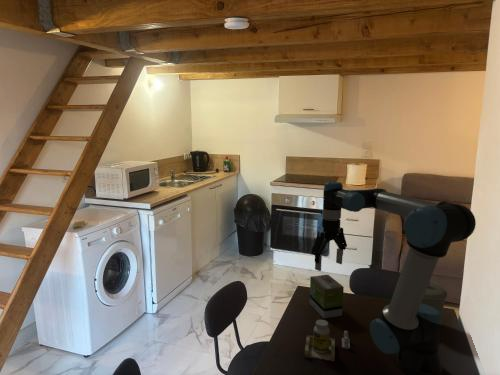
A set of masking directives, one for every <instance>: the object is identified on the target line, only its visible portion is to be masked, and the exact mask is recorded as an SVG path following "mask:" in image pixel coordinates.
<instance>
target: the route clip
mask: <svg viewBox="0 0 500 375" xmlns="http://www.w3.org/2000/svg"><path fill="white" fill-rule="evenodd" d="M350 344H351V341H350V338H349V331H348V330H344V331H343V337H342V338H341V348H342V349H348V350H350V349H351V345H350Z"/></svg>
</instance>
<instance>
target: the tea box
mask: <svg viewBox="0 0 500 375" xmlns="http://www.w3.org/2000/svg"><path fill="white" fill-rule="evenodd" d="M309 283H310V285H309V305H311V307H312V308H313V309H314V311H316V312H317V313H318V314H319V316H321V317H322V318H323V319H331V318H336V317H341V316H343V305H344V301H343V300H344V288H345V287H344V286H343V285H342V284H341V283H339V281H337V280H335V278H333V276H331V275H330V274H321V275H320V274H319V275H314V276H313V275H312V276H310V282H309Z"/></svg>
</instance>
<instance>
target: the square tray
mask: <svg viewBox="0 0 500 375" xmlns="http://www.w3.org/2000/svg"><path fill="white" fill-rule="evenodd" d="M335 342H336V339H335V338H331V337H329V350H328V351H327V352H325V353H319V352H316V351H315V350H314V349H313V335H308V334H307V335H306V339H305V346H304V358H310V359H315V358H316V359H315V360H322V359H324V360H323V361H329V360H330V361H331V362H335V359H336V358H335V357H336V356H335V355H336V352H335V351H336V350H335V349H336V348H335V346H336V344H335ZM317 358H318V359H317Z"/></svg>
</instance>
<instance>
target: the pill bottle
mask: <svg viewBox="0 0 500 375" xmlns="http://www.w3.org/2000/svg"><path fill="white" fill-rule="evenodd" d="M330 332H331V331H330V328H329V322H328V321H327V320H324V319H317V320H316V321H315V326H314V327H313V332H312V333H313V335H312V336H313V349H314V350H315V351H316V352H319V353H325V352H327V351H328V350H329V338H330V337H331V335H330V334H331V333H330Z"/></svg>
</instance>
